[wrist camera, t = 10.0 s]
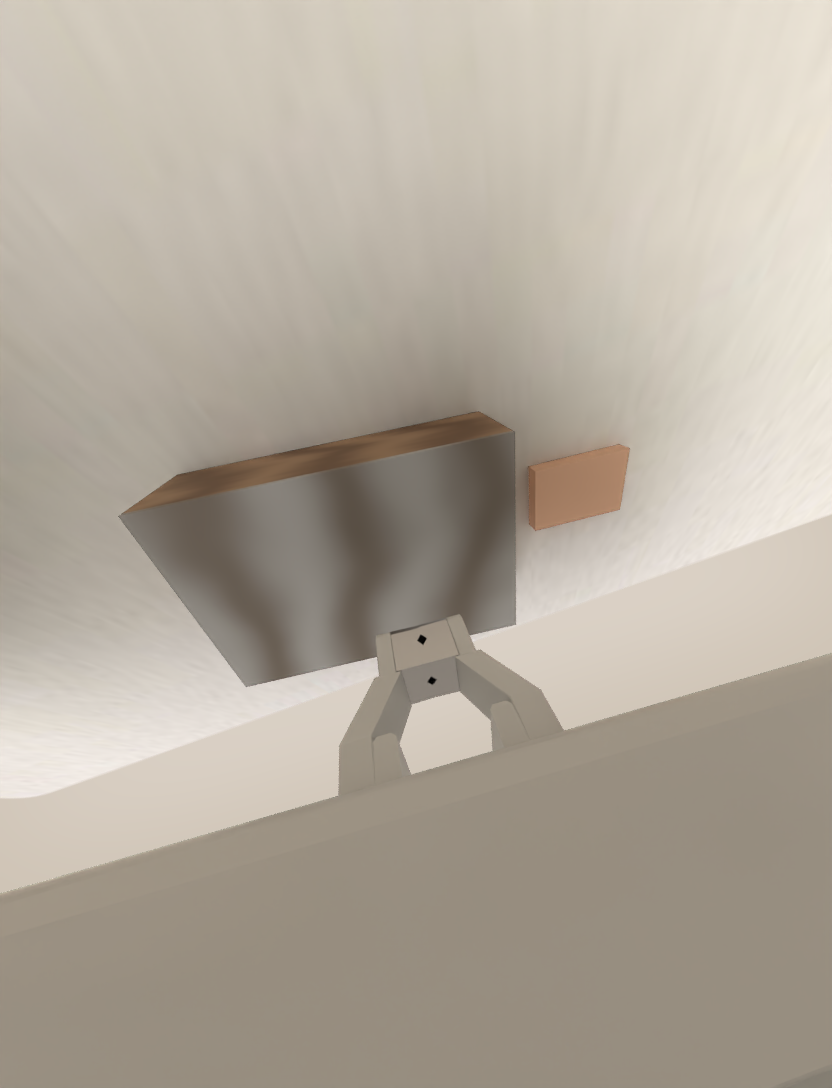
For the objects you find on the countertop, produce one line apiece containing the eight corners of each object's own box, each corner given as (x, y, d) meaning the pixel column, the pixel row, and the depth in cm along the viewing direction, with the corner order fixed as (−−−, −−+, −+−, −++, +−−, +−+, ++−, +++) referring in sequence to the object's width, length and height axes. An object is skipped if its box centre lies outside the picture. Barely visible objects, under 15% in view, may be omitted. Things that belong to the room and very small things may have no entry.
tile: (619, 509, 26) (607, 501, 27) (629, 448, 23) (614, 442, 25) (535, 530, 26) (526, 521, 27) (535, 471, 23) (525, 464, 25)
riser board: (266, 626, 28) (246, 687, 23) (177, 474, 21) (118, 516, 16) (488, 575, 29) (515, 624, 24) (478, 411, 22) (514, 431, 17)
